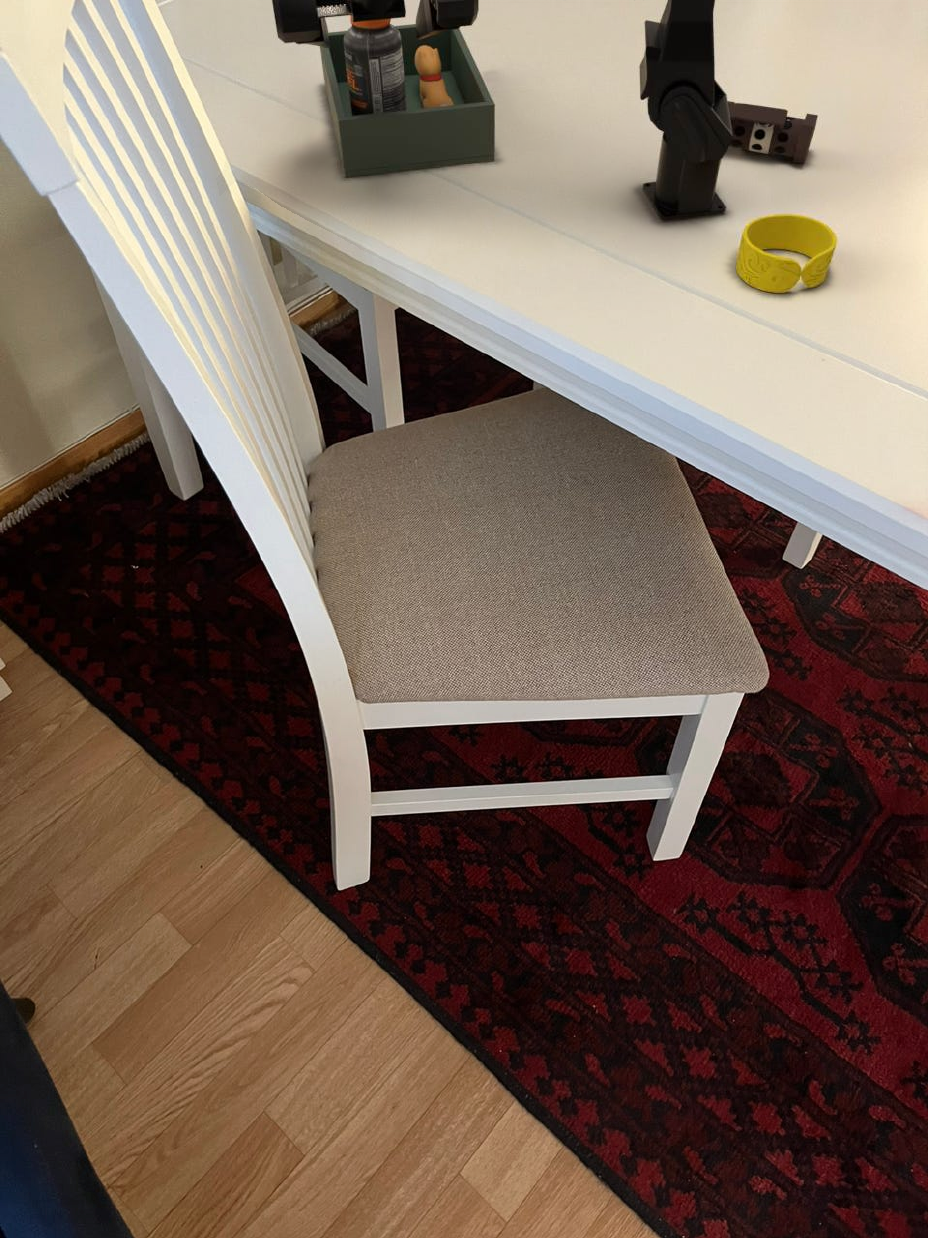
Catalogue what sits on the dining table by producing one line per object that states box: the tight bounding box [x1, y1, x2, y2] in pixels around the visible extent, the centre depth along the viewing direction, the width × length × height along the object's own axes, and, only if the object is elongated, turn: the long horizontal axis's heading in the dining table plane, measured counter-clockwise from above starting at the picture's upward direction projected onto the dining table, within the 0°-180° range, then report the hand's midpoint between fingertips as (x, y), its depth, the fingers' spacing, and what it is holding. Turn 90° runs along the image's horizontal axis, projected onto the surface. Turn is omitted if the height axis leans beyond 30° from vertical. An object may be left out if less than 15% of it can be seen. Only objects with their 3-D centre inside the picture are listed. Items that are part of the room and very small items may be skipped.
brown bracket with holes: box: [727, 100, 819, 165], centre depth 95 cm, size 4×11×5 cm
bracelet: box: [735, 213, 838, 294], centre depth 83 cm, size 7×8×3 cm
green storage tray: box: [319, 23, 496, 178], centre depth 101 cm, size 22×16×6 cm
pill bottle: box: [344, 15, 406, 116], centre depth 97 cm, size 6×6×11 cm
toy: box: [415, 45, 454, 109], centre depth 101 cm, size 3×17×5 cm, turn 11°
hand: (372, 38), depth 94 cm, fingers open, 9 cm apart
